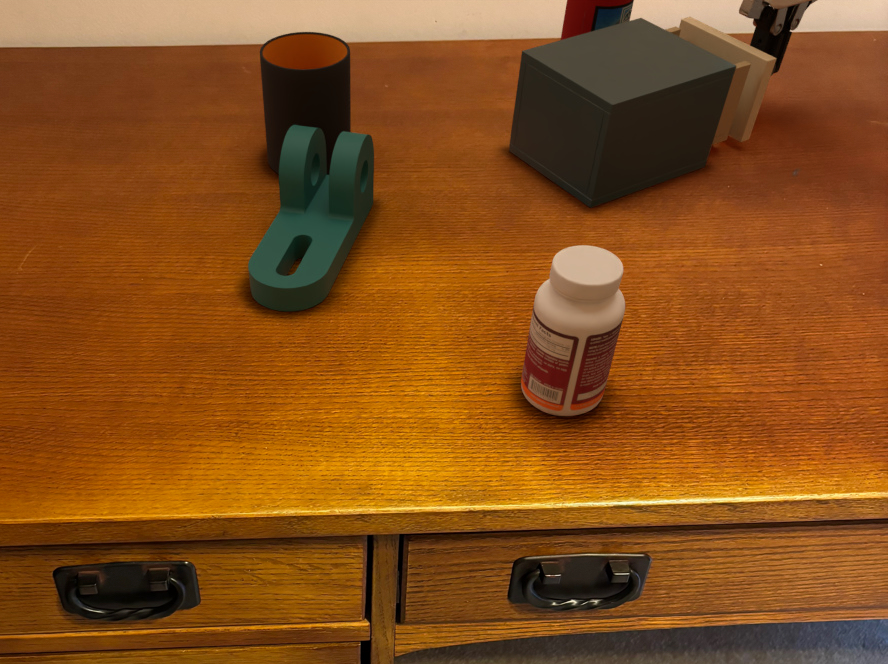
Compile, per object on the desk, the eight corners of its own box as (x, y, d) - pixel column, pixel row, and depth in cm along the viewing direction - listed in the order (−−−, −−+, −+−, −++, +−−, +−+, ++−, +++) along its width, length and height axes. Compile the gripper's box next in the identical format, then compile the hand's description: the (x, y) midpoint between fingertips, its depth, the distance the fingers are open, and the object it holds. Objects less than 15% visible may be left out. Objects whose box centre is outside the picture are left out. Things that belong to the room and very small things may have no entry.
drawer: (698, 85, 99) (720, 7, 93) (779, 129, 93) (808, 48, 87) (570, 126, 93) (585, 45, 87) (647, 175, 87) (669, 92, 81)
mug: (322, 117, 97) (319, 11, 89) (362, 171, 89) (363, 61, 81) (247, 131, 95) (237, 24, 87) (282, 187, 88) (274, 76, 80)
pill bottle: (595, 365, 71) (628, 238, 62) (608, 420, 67) (645, 292, 58) (514, 364, 71) (536, 237, 62) (523, 419, 67) (547, 292, 58)
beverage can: (601, 102, 98) (627, -21, 89) (543, 88, 101) (563, -34, 91) (624, 78, 102) (651, -43, 93) (567, 65, 104) (588, -55, 95)
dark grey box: (619, 115, 97) (641, 17, 89) (705, 167, 90) (737, 65, 82) (508, 150, 92) (521, 50, 84) (590, 208, 85) (612, 104, 78)
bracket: (304, 193, 87) (300, 111, 81) (373, 203, 86) (374, 120, 80) (239, 304, 76) (229, 217, 70) (316, 317, 75) (313, 230, 69)
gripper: (806, -123, 75) (734, 101, 89) (926, -150, 80) (839, 67, 94) (738, -146, 79) (680, 72, 94) (857, -170, 84) (784, 40, 98)
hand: (760, 69), depth 94 cm, fingers closed
